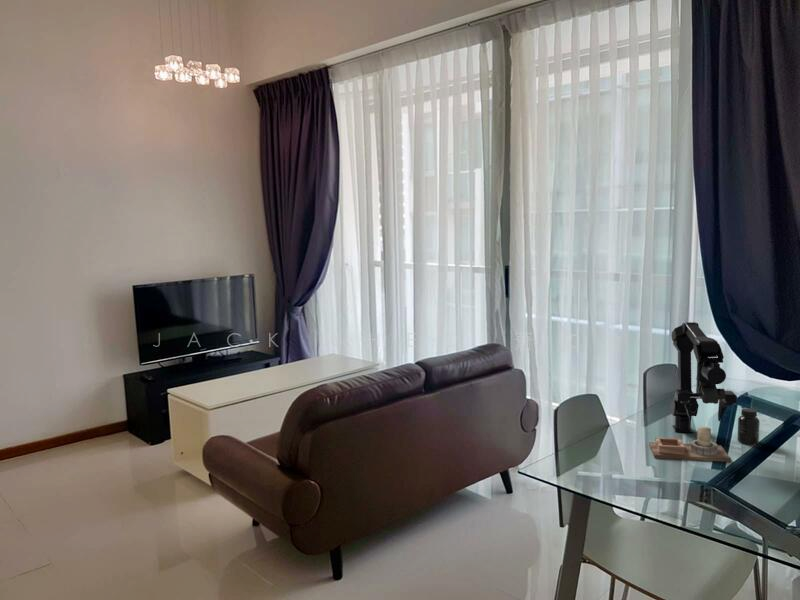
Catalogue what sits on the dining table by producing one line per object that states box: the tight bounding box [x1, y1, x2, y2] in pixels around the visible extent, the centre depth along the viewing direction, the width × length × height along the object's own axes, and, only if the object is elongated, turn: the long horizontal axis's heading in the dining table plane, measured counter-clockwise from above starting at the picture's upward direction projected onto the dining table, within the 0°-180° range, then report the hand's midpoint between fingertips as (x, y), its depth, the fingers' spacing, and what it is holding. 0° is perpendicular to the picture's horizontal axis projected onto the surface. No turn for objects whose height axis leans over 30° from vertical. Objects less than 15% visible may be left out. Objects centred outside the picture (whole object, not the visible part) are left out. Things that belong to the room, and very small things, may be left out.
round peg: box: [697, 426, 712, 447], centre depth 214 cm, size 4×4×8 cm
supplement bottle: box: [736, 407, 761, 446], centre depth 223 cm, size 7×7×12 cm
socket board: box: [648, 437, 731, 463], centre depth 216 cm, size 12×24×4 cm, turn 77°
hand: (704, 420), depth 213 cm, fingers open, 9 cm apart
